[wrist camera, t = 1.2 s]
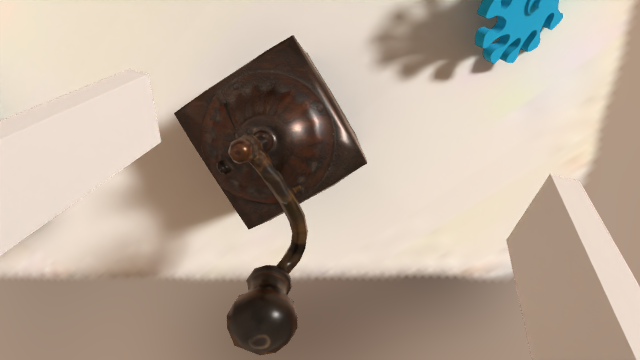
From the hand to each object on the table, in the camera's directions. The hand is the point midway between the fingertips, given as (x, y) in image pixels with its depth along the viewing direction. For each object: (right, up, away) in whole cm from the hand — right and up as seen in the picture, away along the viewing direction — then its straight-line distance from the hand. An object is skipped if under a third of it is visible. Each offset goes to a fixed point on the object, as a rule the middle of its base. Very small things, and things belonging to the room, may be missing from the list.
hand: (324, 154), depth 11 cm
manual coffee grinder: (-2, +2, +22) cm, 22 cm away
